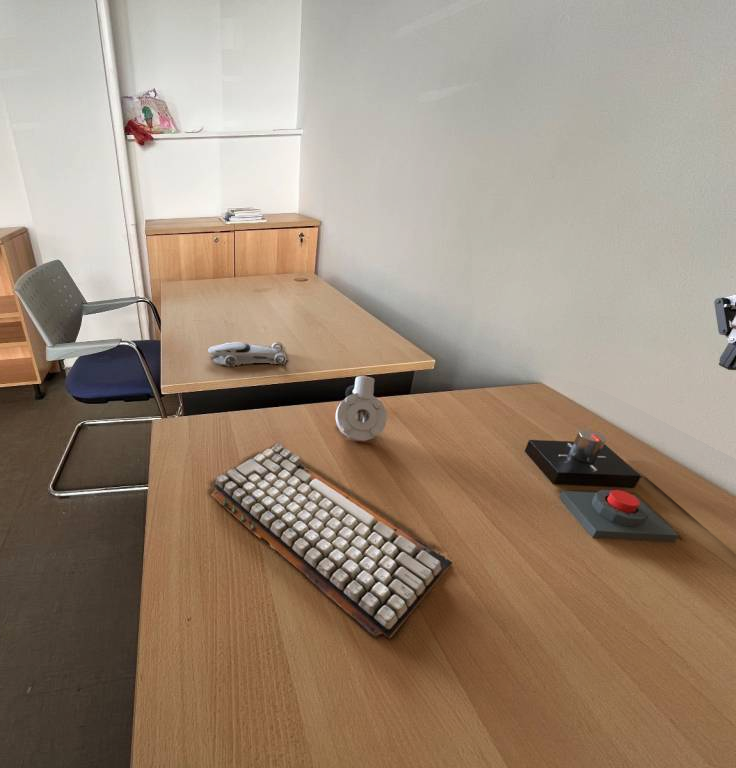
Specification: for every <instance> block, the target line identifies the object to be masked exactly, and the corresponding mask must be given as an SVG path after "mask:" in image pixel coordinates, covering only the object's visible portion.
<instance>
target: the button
mask: <svg viewBox="0 0 736 768" xmlns="http://www.w3.org/2000/svg"><path fill="white" fill-rule="evenodd" d="M612 490H613V489H612ZM607 503H608V504H609V505H610V506H612V507H613V508H615V509H617V510H619V511H622V512H625V513H634V512H635V511H636V509H637V507H638V506H639V504H640V502H639V500H638V499H637V498H636V497H635V496H633V495H631V493H629V492H627V491H624V490H620V489H619V490H618V489H614V490H613V491H611V493H610V495H609V496H608V498H607Z"/></svg>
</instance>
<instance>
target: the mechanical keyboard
mask: <svg viewBox="0 0 736 768" xmlns="http://www.w3.org/2000/svg"><path fill="white" fill-rule="evenodd" d="M213 488H214V490H215V491H213V492H212V493H211V497H212V498H213V499H215V500H216V501H217V502H218V503H219V504H220V505H221V506H223V508H225V509H226V510H227V511H228V512H229V513H231V515H233V516H234V517H235V518H236V519H237V520H238V521H239V522H241V524H243V525H244V526H245V527H246V528H247V529H248V530H249V531H251V532H252V534H254V535H255V536H256V537H258V539H260V540H261V539H264V540H265V541H267V542H268V544H269V547H270V548H271V549H272V550H274V551H275V552H278V554H280V556H282V557H283V558H284V559H285V560H287V561H288V562H289V563H291V564H292V565H293V567H295V568H296V569H298V570H299V571H300V572H301V573H302V574H303V575H305V576H306V577H307V579H308V580H309V581H310V582H311V583H312V584H313V585H315V586H316V587H317V588H318V589H319V590H320V591H321V592H322V593H323V594H324V595H325V596H326V597H327V598H329V599H331V600H332V601H333V602H334V603H335V604H336V605H337V606H338V607H339V608H341V609H342V610H343V611H344V613H345V614H347V615H349V616H350V617H351V619H353V620H354V621H356V622H357V624H358V625H359V626H361V628H362V629H364V630H365V631H367V632H368V633H369V634H370V635H371V636H373V637H374V638H376V637H377V638H378V637H379V636H380V635H384V636H385V637H386V638H388V639H392V638H394V636H395V635H396V634H397V633H398V631H400V629H402V627H403V626H404V624H405V623H406V622H407V620H408V619H409V618H410V617H411V615H412V614H413V613H414V612H415V610H416V609H417V608H418V607H419V605H421V603H422V602H423V601H424V600H425V598H426V597H427V596H428V594H429V593H430V592H431V591H432V590H433V588H434V587H435V586H436V584H437V583H438V582H439V581H440V579H442V577H443V576H444V575H445V573H446V572H447V571H448V569H449V568H450V567H451V566H452V564H453V562H452V561H451V560H450V559H449V558H446V557H445V556H444V555H442V554H439V553H437V552H436V551H434V550H433V549H430V548H428V546H427V544H425V543H423V542H421V541H419V540H418V539H415V538H413V537H412V536H410V535H409V534H408V533H406V532H405V531H403V530H401V529H399V528H398V527H396V526H395V525H394V524H393V523H391V522H389V521H388V520H386V519H384V518H383V517H381V516H380V515H379V514H377V513H375V512H374V511H372V510H371V509H369V508H367V506H365V505H363V504H362V503H360V502H359V501H357V500H356V499H354V498H353V497H351V496H350V495H348V494H347V493H345V492H343V491H342V490H341V489H339V488H337V487H336V486H334V485H333V484H331V483H330V482H329V481H327V480H326V479H324V478H322V477H321V476H320V475H318V474H316V473H314V472H313V471H312V470H310V469H309V468H306V467H305V466H304V465H303V462H302V459H301V457H300V456H298V455H296V454H295V453H294V454H292V452H291V451H290V450H289V449H287V448H283V446H282V445H281V444H279V443H276V444H275V445H273V447H272V448H267V449H266V450H264V451H263V452H262V453H258V454H257V455H255V456H254V457H252V458H249V459H248V460H246V461H245V462H243V463H241V464H240V465H238V466H236V468H232V469H229V470H228V471H226V474H221V475H219V476H218V477H216V481H215V485H213Z"/></svg>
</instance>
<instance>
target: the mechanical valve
mask: <svg viewBox="0 0 736 768" xmlns="http://www.w3.org/2000/svg"><path fill="white" fill-rule="evenodd" d="M374 387H375V378H373V377H372V376H371V377H370V376H364V375H361V376H356V377H355V379H354V384H352V385H349V386H347V388H346V390H345V398H344V399H342V401H341V402H340V403H339V405H338V406H337V408H336V411H335V423H336V426H337V427H338V430H339V431H340V433H341V434H342V435H344V436H345V437H346V438H348V439H350V440H353V441H356V442H364V441H370V440H372V439H375V438H376V437H378V436H379V435H380V434H381V433H382V432H383V431H384V429H385V427H386V425H387V420H388V415H387V410H386V408H385V406H384V403H383V402H382V400H380V399H379V398H377V397H376V396H374V392H375V388H374ZM357 414H358V415H357Z"/></svg>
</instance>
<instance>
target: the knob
mask: <svg viewBox="0 0 736 768" xmlns="http://www.w3.org/2000/svg"><path fill="white" fill-rule="evenodd" d="M606 442H607V437H606V436H605V435H603V434H602V433H601V432H598V431H595V430H592V429H585V428H584V429H580V430H578V433H577V435H576V436H575V439H574V443H573V445H572V447H571V449H570V451H569V454H570V455H571V456H572V457H573V458H574V459H576V460H578V461H581V462H585V463H593V462H595V461H596V459H597V457H598V455H599V453H600V451H601V449H602V447H603V445H604V444H606Z"/></svg>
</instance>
